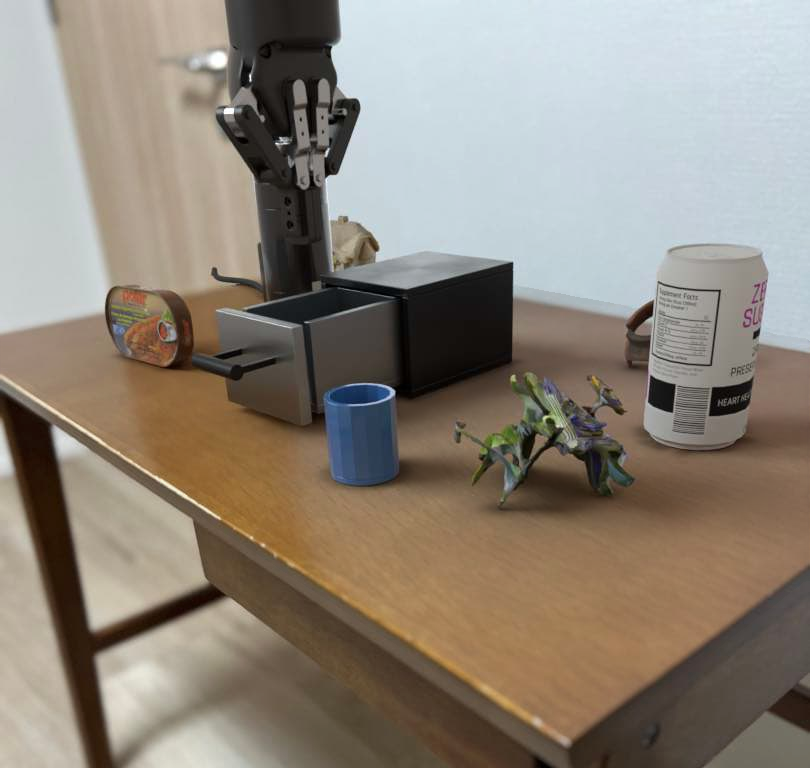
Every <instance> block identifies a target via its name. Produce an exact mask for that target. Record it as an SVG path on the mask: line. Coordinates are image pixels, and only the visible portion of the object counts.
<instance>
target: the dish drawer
mask: <svg viewBox="0 0 810 768" xmlns="http://www.w3.org/2000/svg"><path fill="white" fill-rule="evenodd" d="M241 309H242V310H238V309H232V308H228V307H223V308H218V309H215V310H214V312H215V319H216V324H217V331H218V338H219V339H218V340H219V345H220V351H219V352H217V353H212V354H209V355H207V354H204V353H199V352H196V353H195V354H193V355H192V356H191V365H192V367H193V368H194V369H196V370H200V371H203V372H206V373H209V374H212V375H215V376H219V377H221V378H224V380H225V387H226V393H227V399H228V402H230V403H233V404H236V405H239V406H242V407H245V408H248V409H251V410H254V411H257V412H260V413H261V414H265V415H268V416H271V417H274V418H278V419H280V420H283V421H285V422H288V423H292V424H294V425H297V426H300V427H305V426H307V425H311V424H313V415H312V413H315V414H317V415H321V414H322V413H325V409H324V395H325V393H327V392H328V391H329V390H331V389H334V388H337V387H340V386H344V385H350V384H359V383H373V384H382V385H385V386H389V387H391V388H394V387H397V386H399V385H402V384H405V383H406V370H405V348H404V327H403V305H402V297H401V296H396V295H390V294H384V293H378V292H373V291H367V290H361V289H355V288H350V287H344V286H338V285H337V286H333V287H329V288H324V289H320V290H316V291H312V292H308V293H303V294H299V295H295V296H291V297H287V298H282V299H278V300H274V301H270V302H266V303H264V302H262V303H257V304H253V305H249V306H246V307H242V308H241Z"/></svg>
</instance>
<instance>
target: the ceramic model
mask: <svg viewBox="0 0 810 768" xmlns="http://www.w3.org/2000/svg"><path fill="white" fill-rule="evenodd" d="M330 227H331V240H332V252H333V264H334V272H335V271H339V270H344V269H348V268H353V267H357V266H362V265H366V264H371V263H375V262H377V261H376V258H377V252H380V245H379V242H378V240H377V239H376V238H375V237H374V235H373V233H372V232H370V231H369V230H367V229H366V228H365V227H364V226H363V225H362V224H361V222H357V221H354V220H353V221H352V220H350V221H349V216H347V215H344V216H343V215H338V216H337V220H331V219H330Z"/></svg>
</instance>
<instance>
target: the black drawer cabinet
mask: <svg viewBox="0 0 810 768" xmlns="http://www.w3.org/2000/svg"><path fill="white" fill-rule="evenodd" d="M320 280H321V289H324V288H329V287H333V286H337V285H338V286H344V287H350V288H355V289H361V290H367V291H373V292H378V293H384V294H390V295H396V296H401V297H402V305H403V327H404V348H405V370H406V383H405V384H402V385H399V386H397V387H394V388H392V389H394V390H395V392H396V396H397V395H398V396H401V397H404V398H407V399H411V400H413V399H416V398H419V397H422V396H424V395H426V394H429V393H432V392H435V391H437V390H440V389H443V388H446V387H448V386H451V385H454V384H456V383H459V382H462V381H464V380H467V379H469V378H472V377H475V376H478V375H481V374H484V373H486V372H490V371H491V370H494V369H498V368H500V367H502V366H505V365H509V364H510V363H513V344H514V343H513V342H514V341H513V337H514V336H513V335H514V334H513V332H514V328H513V327H514V261H512V260H511V261H510V260H502V259H494V258H487V257H485V258H484V257H477V256H470V255H461V254H454V253H453V254H452V253H446V252H444V253H443V252H436V251H429V250H425V251H420V252H416V253H410V254H407V255H402V256H397V257H394V258H388V259H384V260H380V261H375V263H371V264H366V265H362V266H357V267H353V268H348V269H344V270H339V271H335V272H330V273H326V274H322V275H320Z"/></svg>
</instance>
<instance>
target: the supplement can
mask: <svg viewBox="0 0 810 768" xmlns="http://www.w3.org/2000/svg"><path fill="white" fill-rule="evenodd" d="M763 255H764V251H763V250H762V249H761V248H758V247H756V246H755V247H754V246H751V245H744V244H736V243H735V244H734V243H712V242H711V243H710V242H709V243H707V242H706V243H690V244H681V245H677V246H673V247H672V246H671V247H670V248H668V249H666V253H665V256H664V258H663V259H662V261H661V263H660V264H659V265H658V267H657V269H656V275H655V285H654V286H655V288H654V298H653V300H654V309H653V316H652V322H651V333H650V335H651V343H650V355H649V362H648V368H647V377H646V378H647V379H646V391H645V401H644V402H645V403H644V413H643V429H644V430H646V431H647V432H648V433H649V435H650V437H651V438H652V439H653V440H654V441H656V442H657V443H660V444H663V445H665V446H667V447H672V448H676V449H681V450H688V451H689V450H691V451H710V450H711V451H712V450H717V449H723V448H726V447H729V446H731V445H734V443H735V442H736V441H737V440H738V439H741V438H743V436H744V434H745V433H746V431H747V426H748V420H749V411H750V404H751V398H752V391H753V390H752V389H753V384H754V376H755V370H756V363H757V356H758V349H759V342H760V337H761V335H760V334H761V329H762V323H763V322H762V321H763V314H764V309H765V308H764V307H765V301H766V294H767V288H768V280H769V270H768V267H767V265H766V263H765V260H764V257H763Z"/></svg>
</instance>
